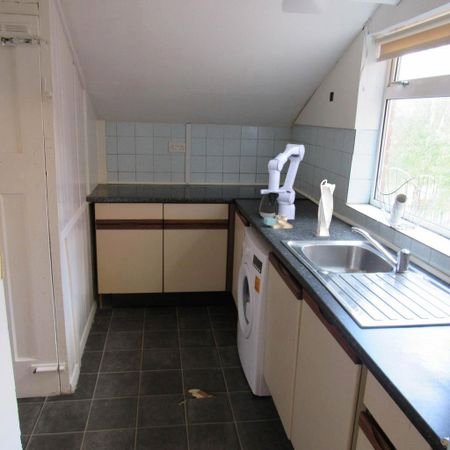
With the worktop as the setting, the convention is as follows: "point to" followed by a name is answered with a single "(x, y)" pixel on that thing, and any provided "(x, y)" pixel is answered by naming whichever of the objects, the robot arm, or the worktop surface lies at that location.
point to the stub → (269, 221)
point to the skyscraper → (325, 210)
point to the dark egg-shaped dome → (267, 207)
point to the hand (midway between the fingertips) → (272, 206)
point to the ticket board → (281, 222)
